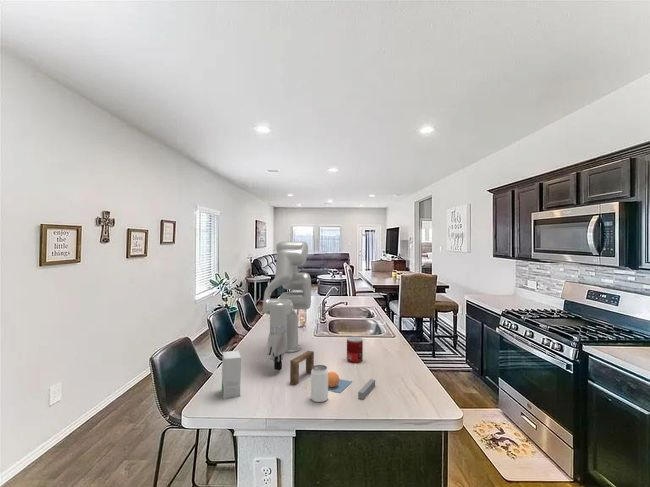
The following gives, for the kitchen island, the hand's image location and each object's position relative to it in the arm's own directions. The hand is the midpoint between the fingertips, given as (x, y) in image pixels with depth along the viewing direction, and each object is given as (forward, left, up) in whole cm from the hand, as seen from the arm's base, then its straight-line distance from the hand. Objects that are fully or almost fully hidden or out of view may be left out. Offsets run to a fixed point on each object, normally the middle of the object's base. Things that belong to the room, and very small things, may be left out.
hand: (278, 369), depth 156 cm
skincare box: (-4, -26, -2) cm, 26 cm away
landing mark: (+28, 0, -2) cm, 28 cm away
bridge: (+13, 0, -2) cm, 13 cm away
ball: (+29, -2, +2) cm, 29 cm away
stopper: (+43, 0, -2) cm, 43 cm away
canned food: (+25, +31, -2) cm, 40 cm away
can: (+29, -14, -2) cm, 32 cm away
